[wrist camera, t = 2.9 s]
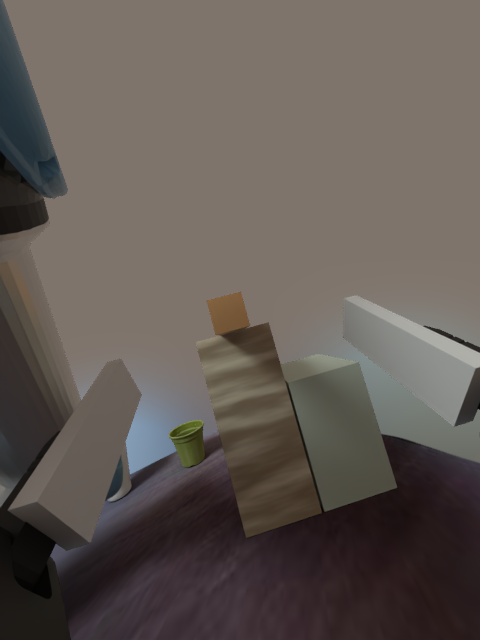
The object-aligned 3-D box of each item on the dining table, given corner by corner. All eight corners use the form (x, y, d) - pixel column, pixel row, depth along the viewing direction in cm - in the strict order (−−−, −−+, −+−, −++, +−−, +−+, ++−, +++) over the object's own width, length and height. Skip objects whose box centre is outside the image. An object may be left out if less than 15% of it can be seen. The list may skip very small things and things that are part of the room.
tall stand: (322, 512, 32) (268, 322, 34) (246, 538, 31) (195, 342, 33) (291, 454, 48) (256, 326, 50) (241, 470, 47) (207, 340, 49)
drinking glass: (120, 484, 55) (108, 426, 56) (141, 482, 53) (128, 423, 54) (96, 506, 48) (82, 441, 49) (119, 505, 46) (104, 437, 47)
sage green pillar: (397, 487, 33) (358, 362, 34) (324, 511, 32) (288, 382, 33) (342, 438, 49) (318, 353, 50) (293, 453, 48) (269, 367, 49)
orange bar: (250, 325, 24) (240, 291, 24) (215, 334, 23) (206, 300, 24) (240, 331, 48) (236, 314, 48) (223, 335, 47) (219, 318, 48)
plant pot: (196, 448, 63) (189, 419, 64) (218, 451, 58) (210, 420, 58) (169, 469, 56) (161, 436, 56) (191, 475, 50) (182, 439, 51)
